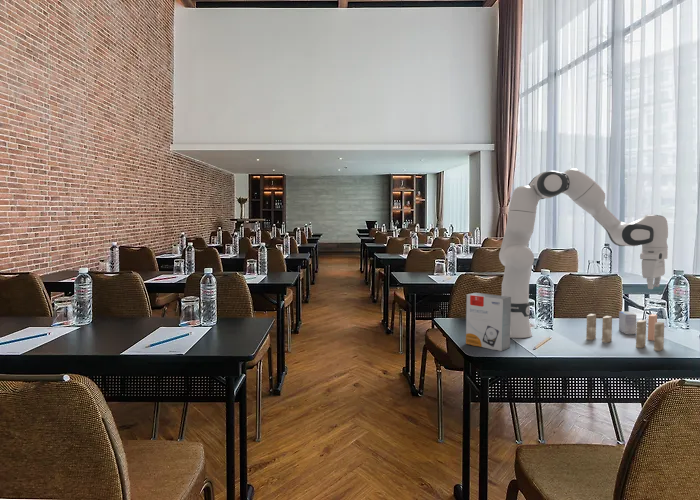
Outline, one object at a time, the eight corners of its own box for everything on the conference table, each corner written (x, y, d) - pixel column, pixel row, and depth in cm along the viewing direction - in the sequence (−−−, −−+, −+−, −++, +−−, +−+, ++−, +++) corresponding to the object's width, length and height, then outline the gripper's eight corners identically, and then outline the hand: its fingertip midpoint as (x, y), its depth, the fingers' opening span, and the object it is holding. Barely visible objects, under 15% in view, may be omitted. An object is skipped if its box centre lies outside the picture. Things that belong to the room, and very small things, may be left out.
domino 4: (647, 339, 193) (648, 315, 192) (650, 337, 196) (651, 314, 196) (653, 340, 191) (654, 316, 191) (656, 338, 195) (657, 314, 194)
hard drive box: (464, 344, 186) (465, 294, 185) (474, 341, 191) (475, 292, 190) (501, 351, 175) (502, 298, 174) (510, 347, 180) (511, 296, 180)
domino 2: (602, 342, 189) (602, 317, 189) (606, 339, 193) (606, 315, 192) (607, 342, 188) (608, 318, 187) (611, 340, 191) (612, 316, 191)
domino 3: (635, 347, 181) (636, 321, 180) (639, 345, 184) (640, 319, 184) (641, 348, 179) (642, 322, 179) (645, 345, 183) (646, 320, 182)
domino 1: (586, 339, 194) (586, 315, 193) (590, 337, 197) (591, 313, 197) (591, 340, 192) (592, 316, 192) (595, 338, 196) (596, 314, 195)
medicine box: (636, 334, 202) (637, 314, 202) (625, 334, 203) (625, 314, 203) (629, 330, 210) (629, 311, 209) (618, 330, 211) (619, 311, 210)
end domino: (654, 350, 176) (654, 323, 176) (657, 347, 180) (658, 321, 179) (660, 351, 175) (661, 324, 175) (663, 348, 179) (664, 322, 178)
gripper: (652, 252, 202) (651, 285, 202) (638, 255, 187) (638, 289, 188) (669, 253, 197) (668, 286, 198) (657, 255, 183) (656, 291, 183)
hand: (653, 287), depth 193 cm, fingers open, 8 cm apart
